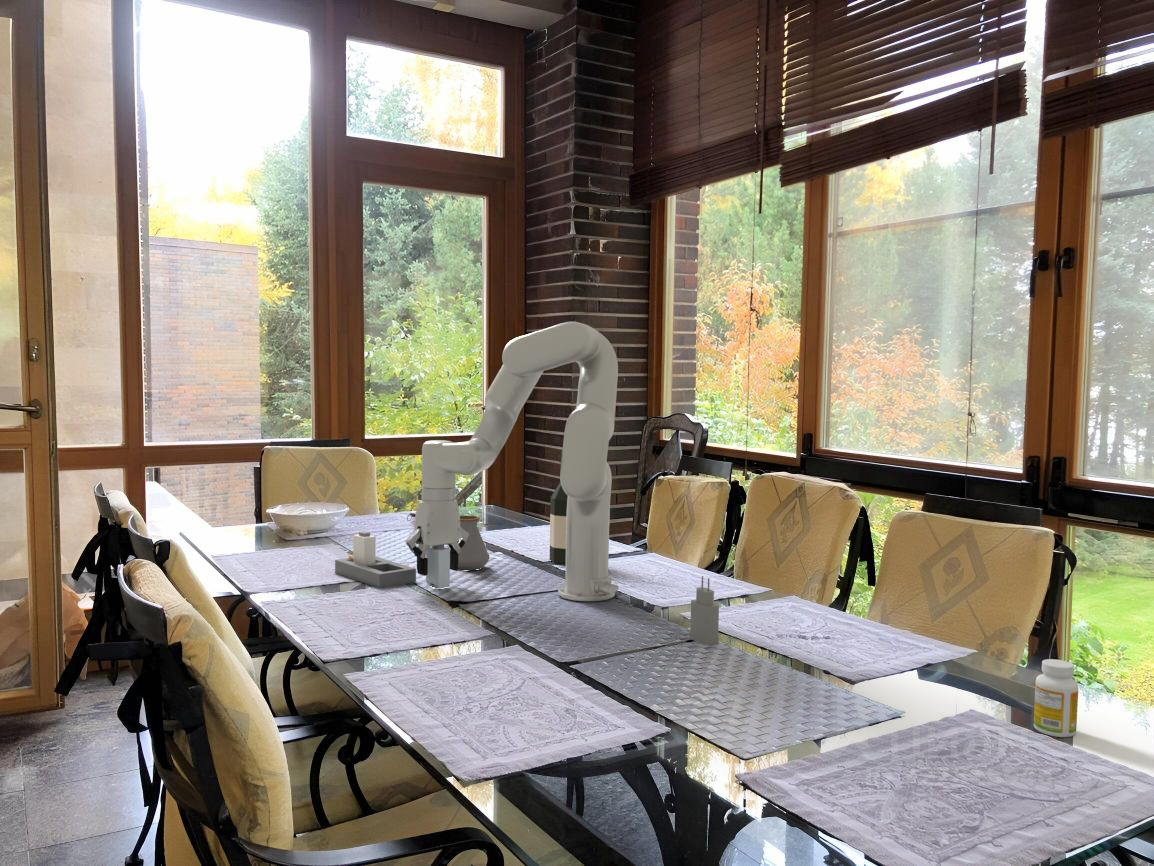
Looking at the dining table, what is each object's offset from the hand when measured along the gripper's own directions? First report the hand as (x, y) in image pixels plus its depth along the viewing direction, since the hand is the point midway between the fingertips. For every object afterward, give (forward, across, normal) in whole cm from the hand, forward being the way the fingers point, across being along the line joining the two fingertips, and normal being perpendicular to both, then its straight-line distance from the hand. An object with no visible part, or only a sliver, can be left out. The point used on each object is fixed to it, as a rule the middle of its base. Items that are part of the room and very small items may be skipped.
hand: (437, 571), depth 209 cm
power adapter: (+4, -14, +66) cm, 68 cm away
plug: (+4, 0, 0) cm, 4 cm away
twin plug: (+3, +8, -19) cm, 21 cm away
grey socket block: (+4, +8, -14) cm, 17 cm away
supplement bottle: (+4, -18, +126) cm, 127 cm away
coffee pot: (+4, -12, -13) cm, 18 cm away
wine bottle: (+4, -42, -3) cm, 42 cm away
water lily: (+4, -33, -54) cm, 63 cm away
